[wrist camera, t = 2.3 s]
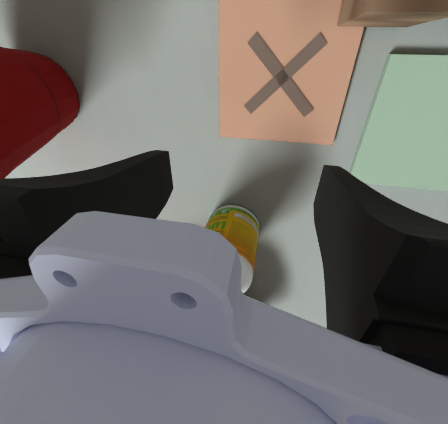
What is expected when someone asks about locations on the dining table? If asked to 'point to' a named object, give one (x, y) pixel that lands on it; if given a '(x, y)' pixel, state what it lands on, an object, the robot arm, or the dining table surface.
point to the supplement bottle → (238, 236)
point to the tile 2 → (407, 126)
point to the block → (390, 12)
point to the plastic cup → (31, 105)
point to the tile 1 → (283, 69)
